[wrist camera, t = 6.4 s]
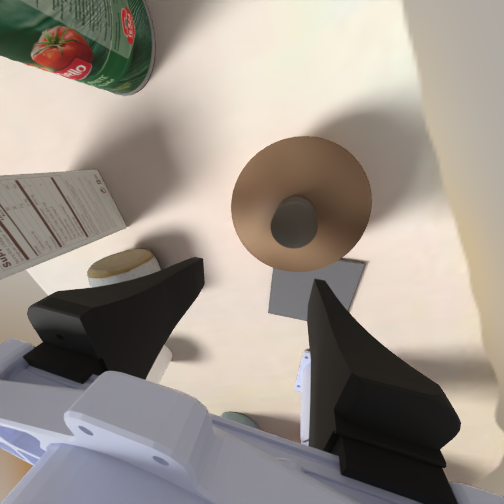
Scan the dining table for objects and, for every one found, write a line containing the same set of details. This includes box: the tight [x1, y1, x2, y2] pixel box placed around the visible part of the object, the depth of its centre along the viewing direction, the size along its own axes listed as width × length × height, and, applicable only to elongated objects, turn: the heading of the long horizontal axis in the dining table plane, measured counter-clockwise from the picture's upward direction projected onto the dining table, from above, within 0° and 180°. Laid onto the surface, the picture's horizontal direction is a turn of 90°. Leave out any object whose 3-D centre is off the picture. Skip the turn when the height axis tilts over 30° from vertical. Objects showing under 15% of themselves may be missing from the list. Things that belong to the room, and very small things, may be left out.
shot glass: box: [146, 345, 173, 384], centre depth 33 cm, size 7×7×7 cm
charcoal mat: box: [268, 259, 365, 321], centre depth 22 cm, size 9×9×1 cm
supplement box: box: [0, 169, 126, 280], centre depth 19 cm, size 7×7×13 cm
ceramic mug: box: [87, 249, 161, 288], centre depth 24 cm, size 11×8×8 cm
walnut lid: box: [231, 136, 372, 272], centre depth 13 cm, size 10×10×4 cm
